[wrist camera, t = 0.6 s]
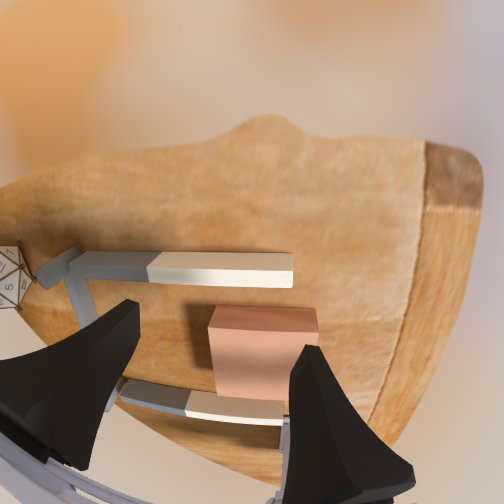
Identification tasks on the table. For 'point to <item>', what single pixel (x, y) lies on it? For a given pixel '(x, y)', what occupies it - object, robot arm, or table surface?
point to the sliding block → (258, 348)
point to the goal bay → (75, 273)
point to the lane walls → (227, 274)
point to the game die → (13, 276)
